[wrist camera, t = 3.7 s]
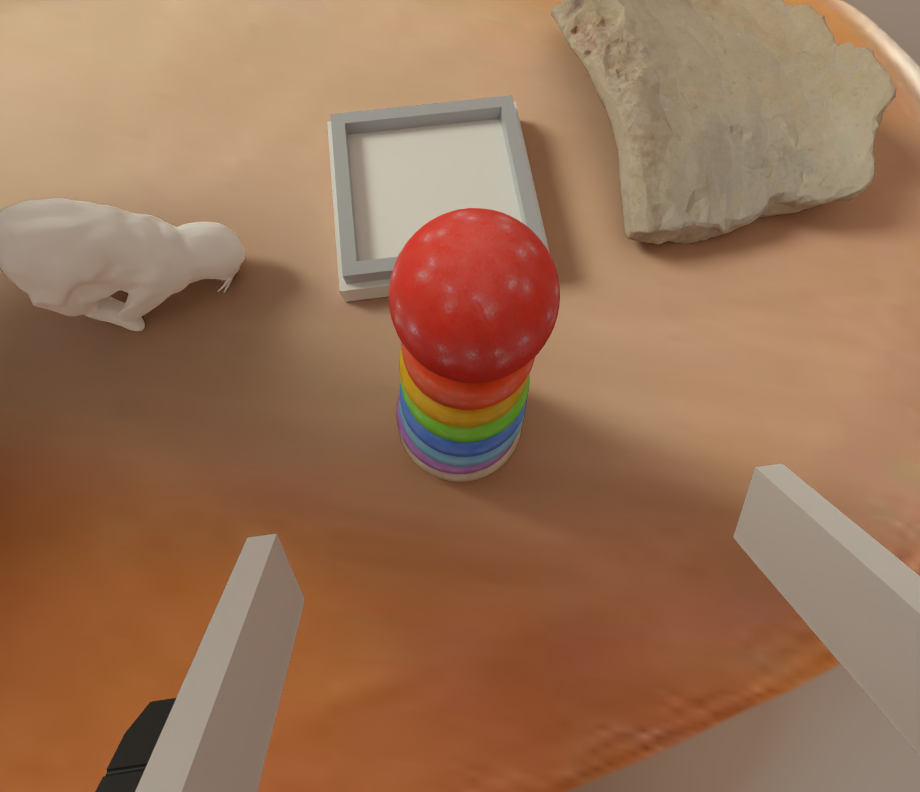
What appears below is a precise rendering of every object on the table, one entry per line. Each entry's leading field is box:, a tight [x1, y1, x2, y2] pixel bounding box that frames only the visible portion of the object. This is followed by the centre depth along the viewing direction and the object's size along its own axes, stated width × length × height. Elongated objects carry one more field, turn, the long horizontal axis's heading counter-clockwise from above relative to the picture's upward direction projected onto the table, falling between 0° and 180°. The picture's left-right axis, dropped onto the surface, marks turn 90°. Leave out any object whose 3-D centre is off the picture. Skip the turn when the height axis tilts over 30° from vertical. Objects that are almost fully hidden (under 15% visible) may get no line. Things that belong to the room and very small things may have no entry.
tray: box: [327, 96, 550, 302], centre depth 32 cm, size 15×15×2 cm
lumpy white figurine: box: [0, 198, 245, 331], centre depth 27 cm, size 6×8×12 cm
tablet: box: [551, 0, 896, 245], centre depth 32 cm, size 24×8×20 cm
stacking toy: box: [389, 208, 560, 482], centre depth 19 cm, size 8×8×19 cm
